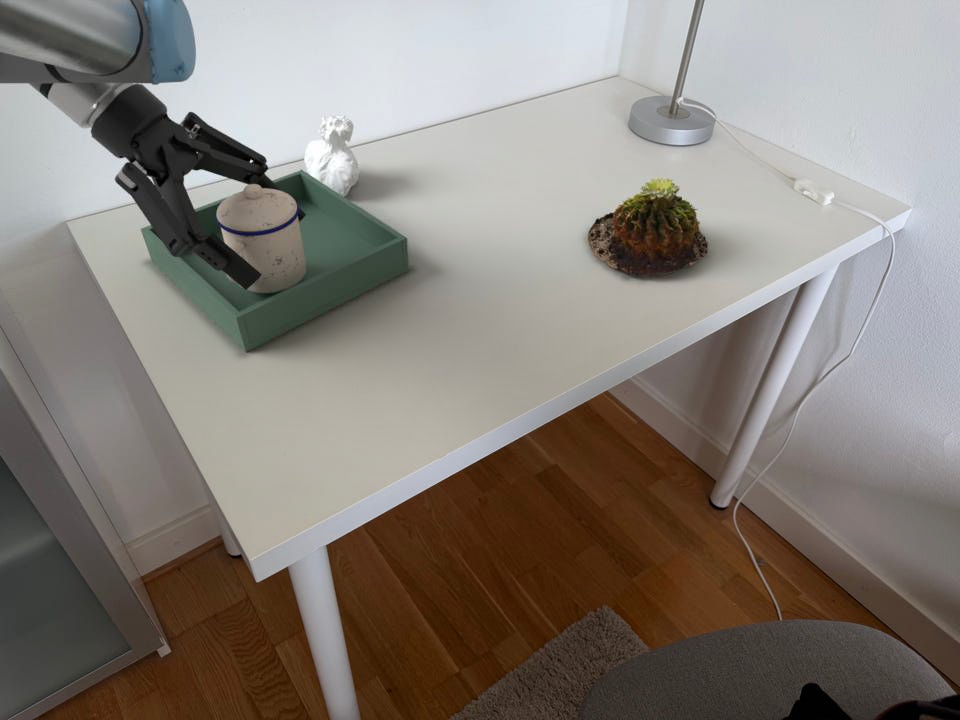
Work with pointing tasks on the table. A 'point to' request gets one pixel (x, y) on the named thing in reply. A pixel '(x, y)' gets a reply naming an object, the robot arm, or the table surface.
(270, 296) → the tray
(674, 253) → the cactus
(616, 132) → the table surface
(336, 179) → the bust
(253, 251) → the teacup with lid
